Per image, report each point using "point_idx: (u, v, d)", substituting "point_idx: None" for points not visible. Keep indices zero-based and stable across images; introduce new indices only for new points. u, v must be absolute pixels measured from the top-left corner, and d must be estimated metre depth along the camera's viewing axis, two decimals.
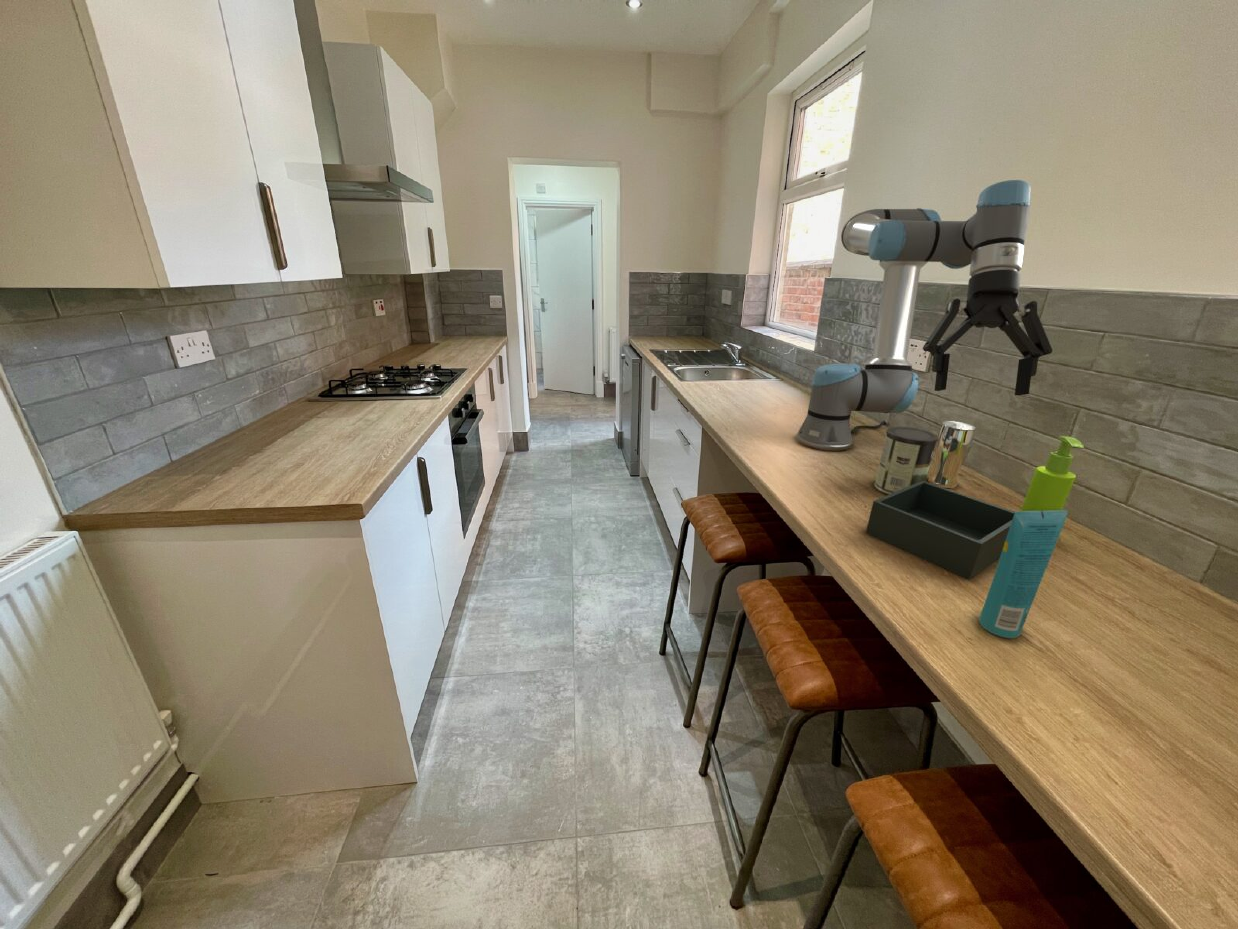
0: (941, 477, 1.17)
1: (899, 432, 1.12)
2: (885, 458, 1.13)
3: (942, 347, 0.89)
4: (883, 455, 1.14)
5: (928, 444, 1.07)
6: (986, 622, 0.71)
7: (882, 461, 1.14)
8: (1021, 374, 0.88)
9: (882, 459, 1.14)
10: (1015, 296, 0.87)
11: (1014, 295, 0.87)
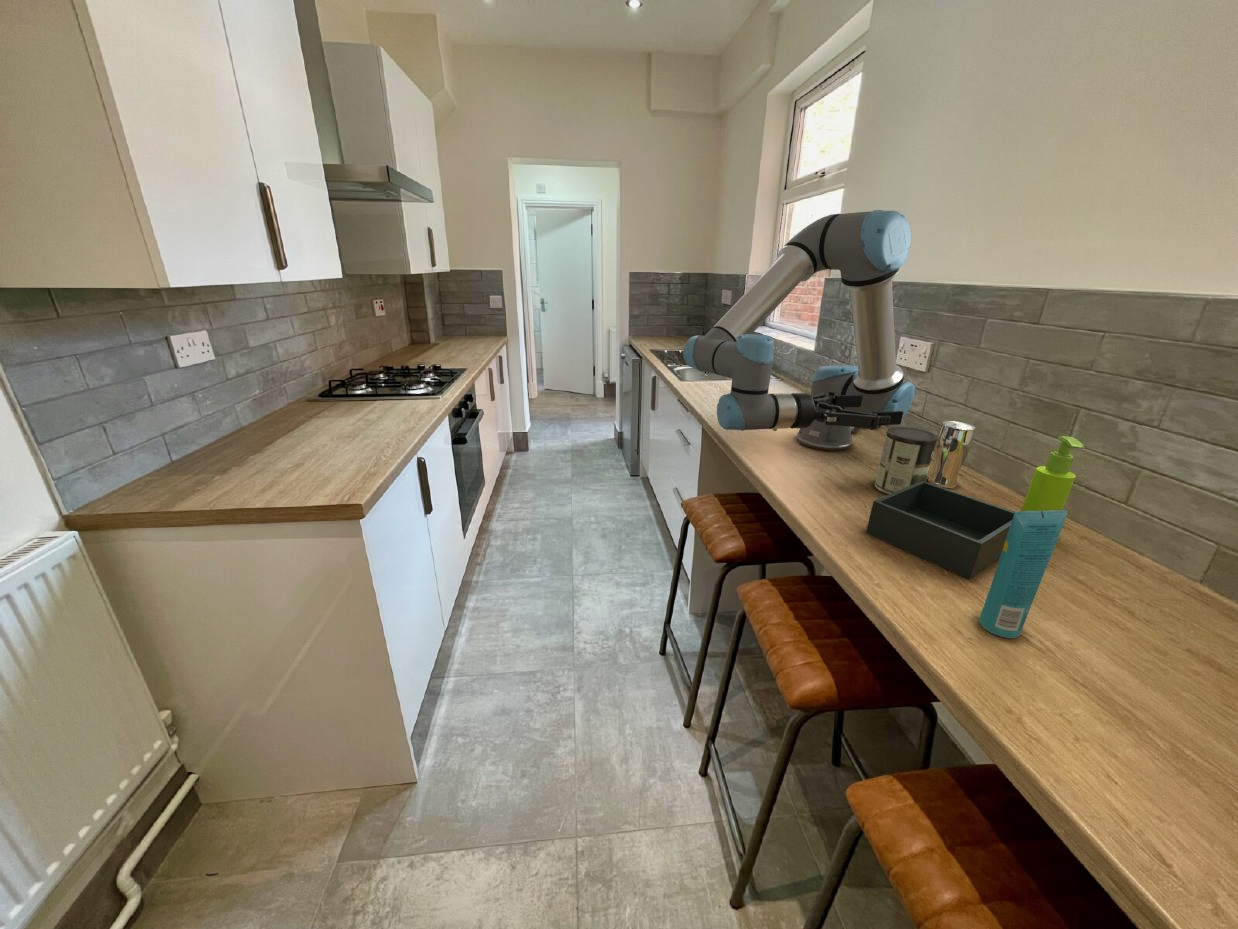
0: (941, 477, 1.17)
1: (899, 432, 1.12)
2: (885, 458, 1.13)
3: None
4: (883, 455, 1.14)
5: (928, 444, 1.07)
6: (986, 622, 0.71)
7: (882, 461, 1.14)
8: None
9: (882, 459, 1.14)
10: None
11: None
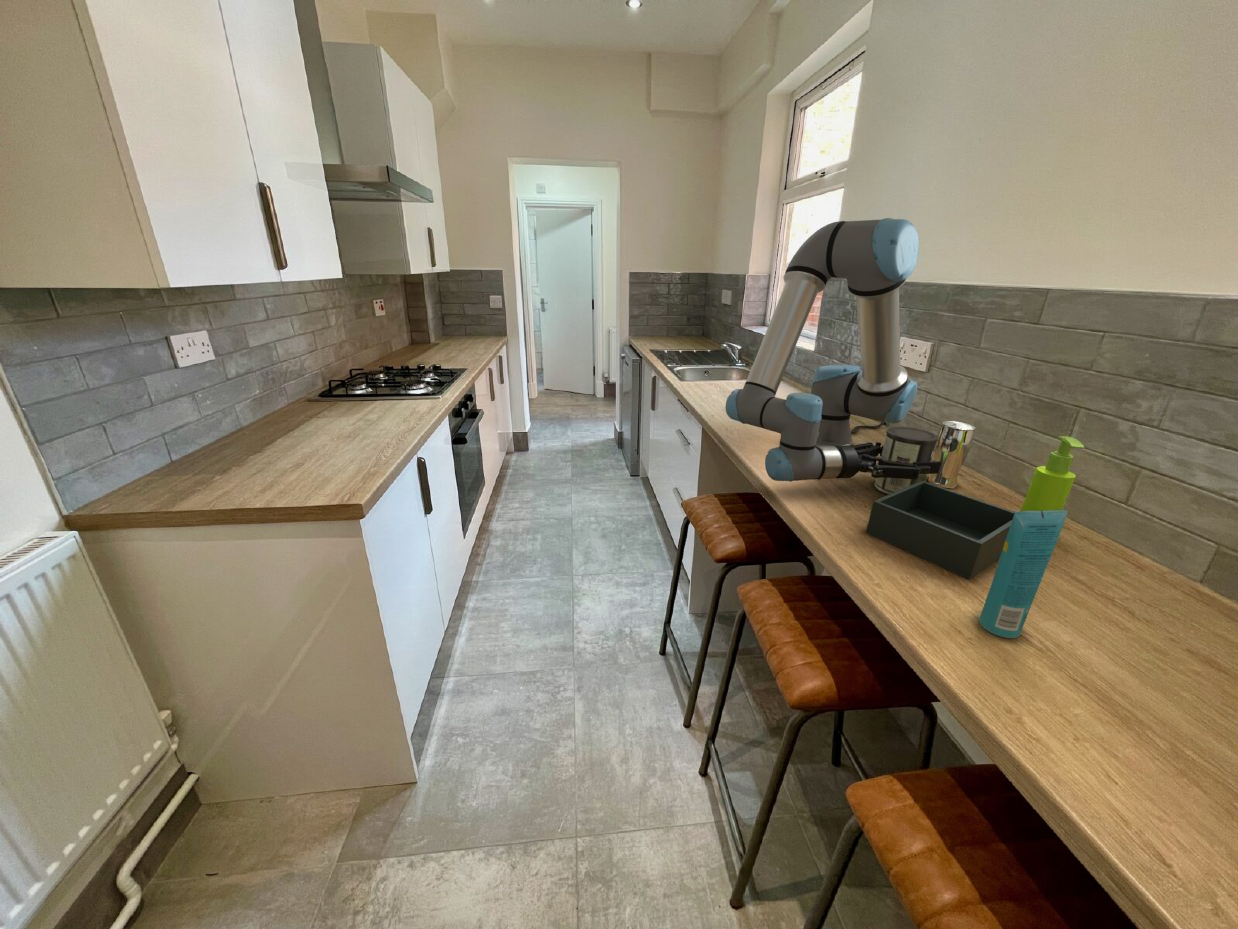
0: (941, 477, 1.17)
1: (899, 432, 1.12)
2: (885, 458, 1.13)
3: None
4: (883, 455, 1.14)
5: (928, 444, 1.07)
6: (986, 622, 0.71)
7: None
8: None
9: None
10: (858, 471, 1.09)
11: None
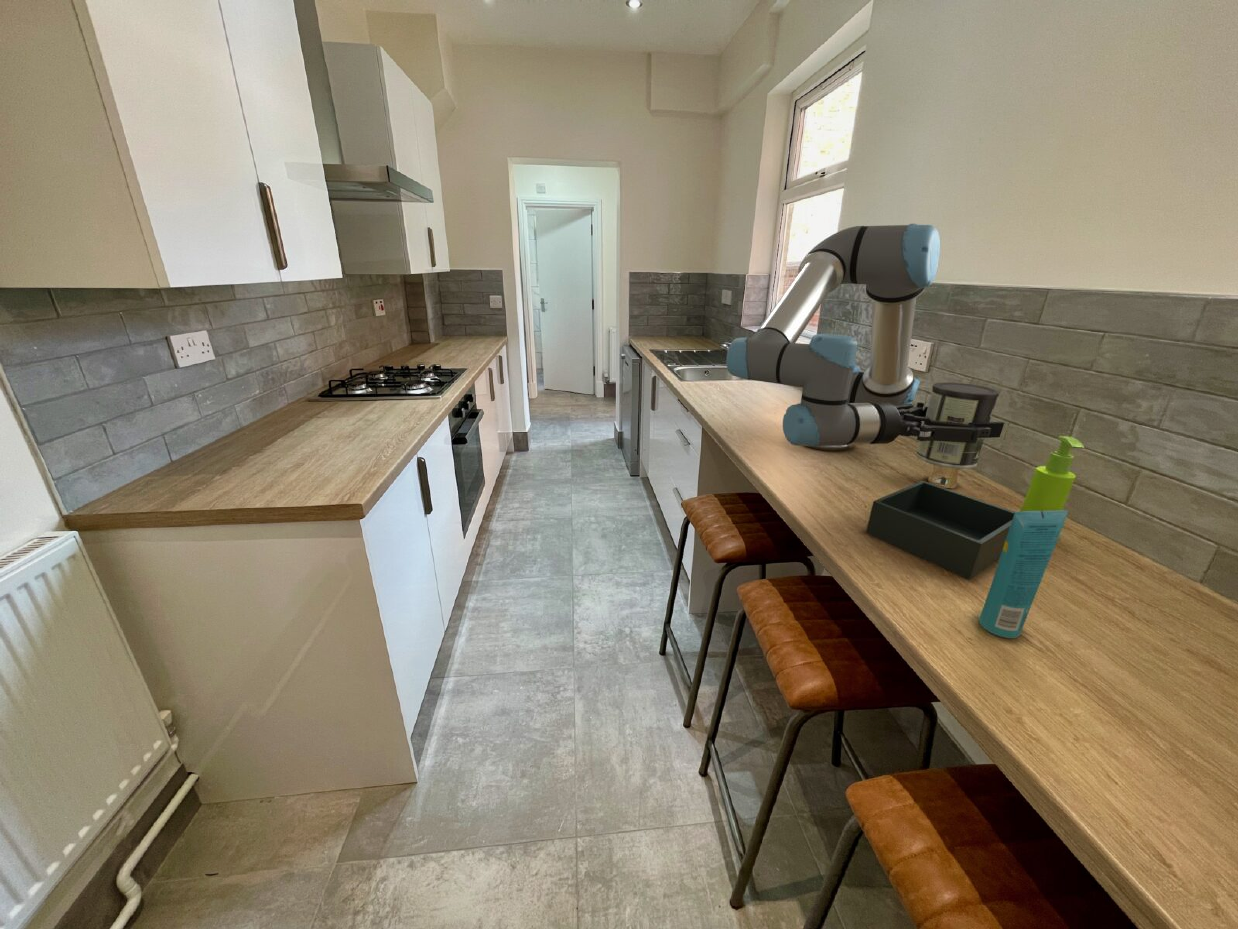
0: (941, 477, 1.17)
1: (949, 387, 0.90)
2: (931, 419, 0.91)
3: None
4: (928, 416, 0.92)
5: (988, 399, 0.85)
6: (986, 622, 0.71)
7: None
8: None
9: None
10: (899, 433, 0.87)
11: None
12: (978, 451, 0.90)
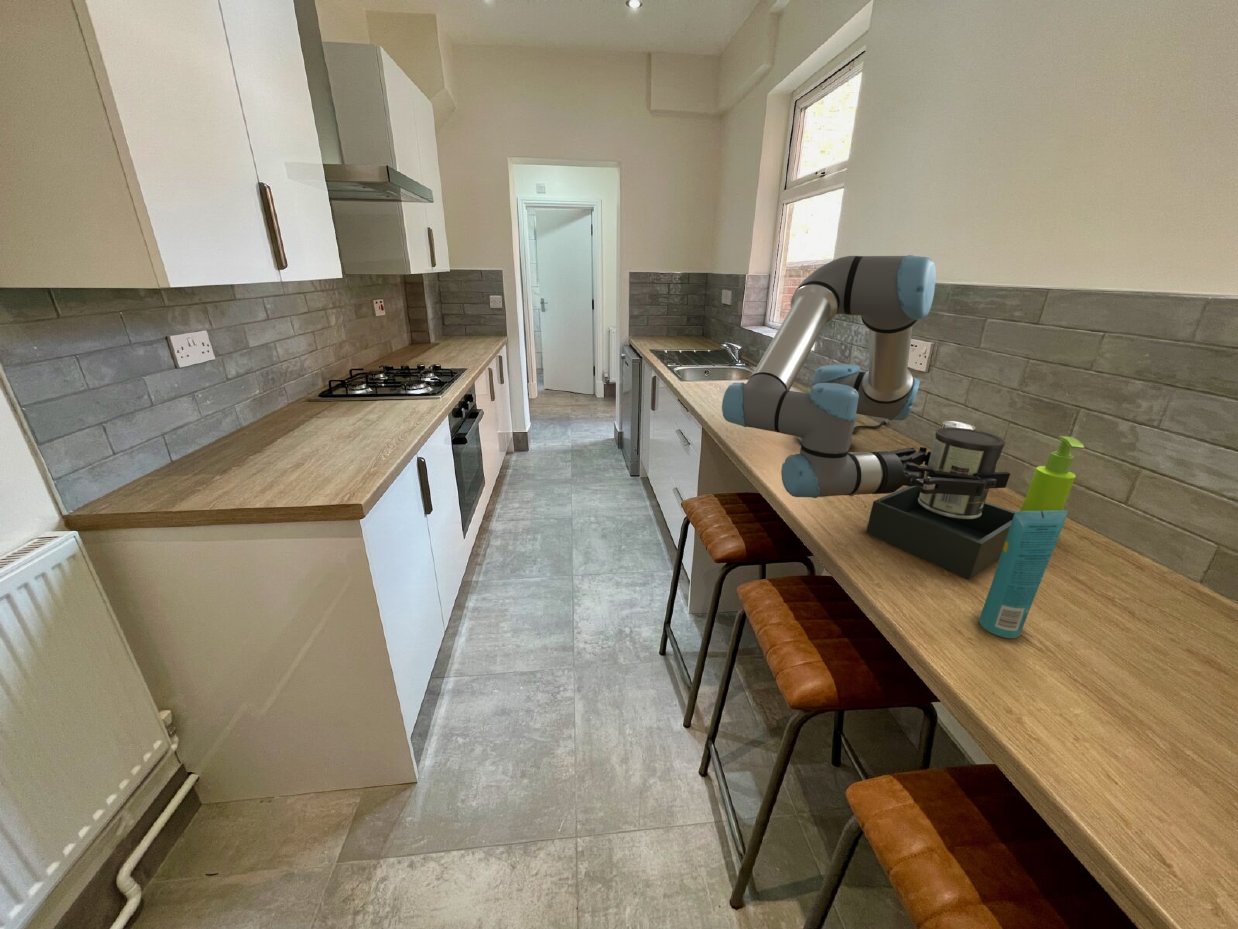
0: None
1: (953, 434, 0.87)
2: (934, 467, 0.88)
3: None
4: (931, 464, 0.89)
5: (994, 450, 0.82)
6: (986, 622, 0.71)
7: None
8: None
9: None
10: (902, 484, 0.84)
11: None
12: (983, 501, 0.87)
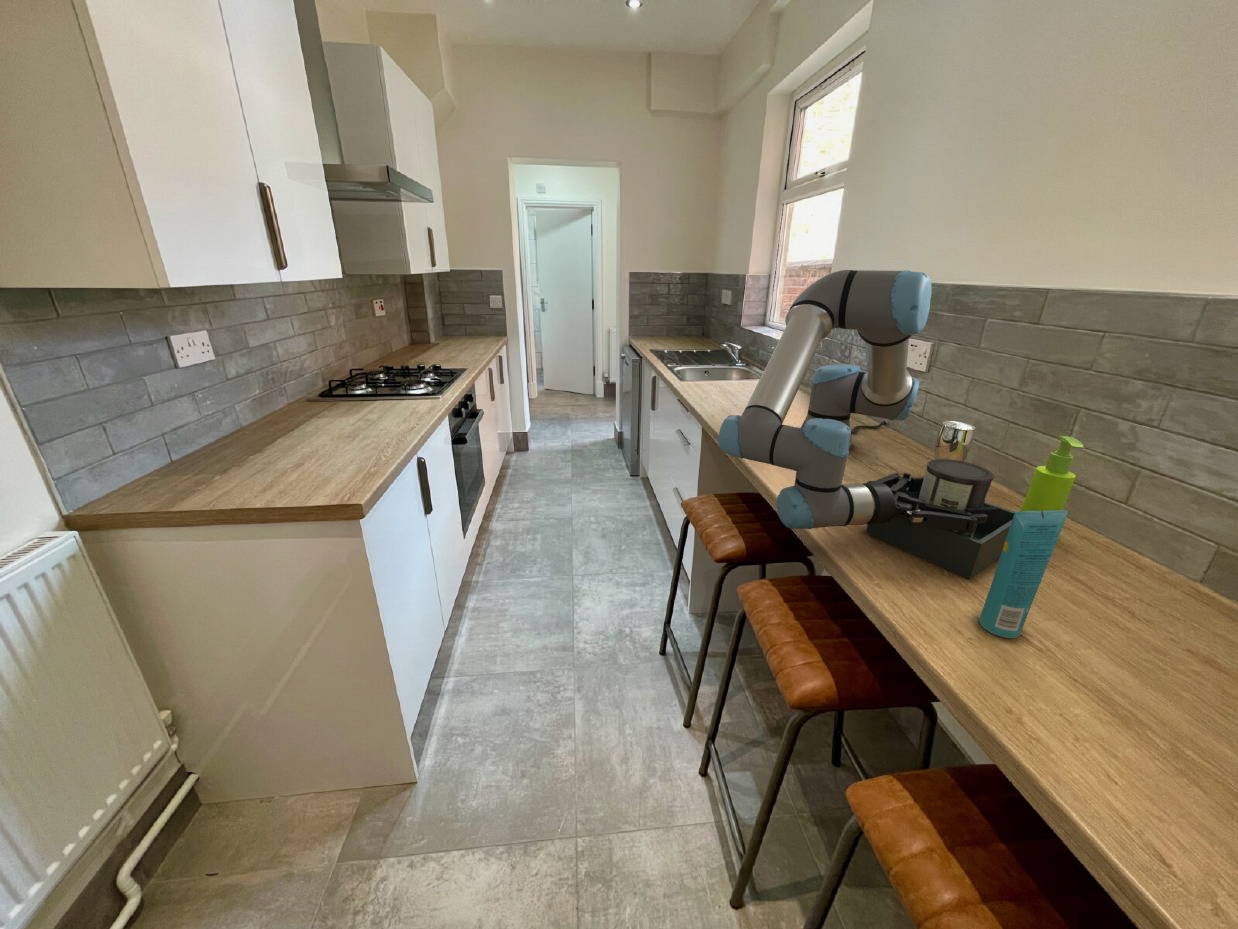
0: None
1: (943, 467, 0.90)
2: (925, 499, 0.91)
3: None
4: (922, 495, 0.92)
5: (982, 484, 0.85)
6: (986, 622, 0.71)
7: None
8: None
9: None
10: None
11: None
12: (972, 532, 0.89)
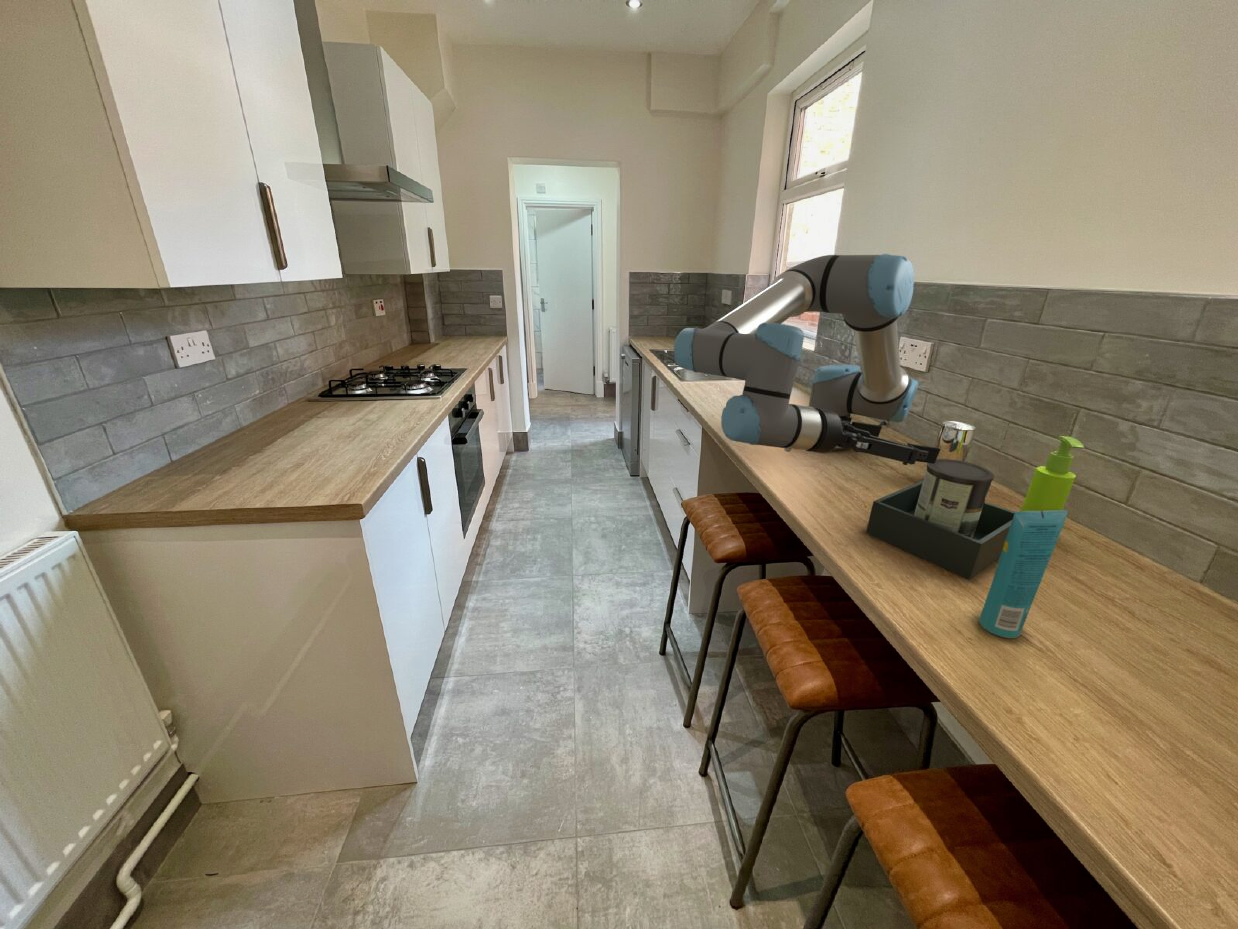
0: None
1: (943, 467, 0.90)
2: (925, 499, 0.91)
3: None
4: (922, 495, 0.92)
5: (982, 484, 0.85)
6: (986, 622, 0.71)
7: (921, 502, 0.92)
8: None
9: (921, 500, 0.92)
10: None
11: None
12: (972, 532, 0.89)
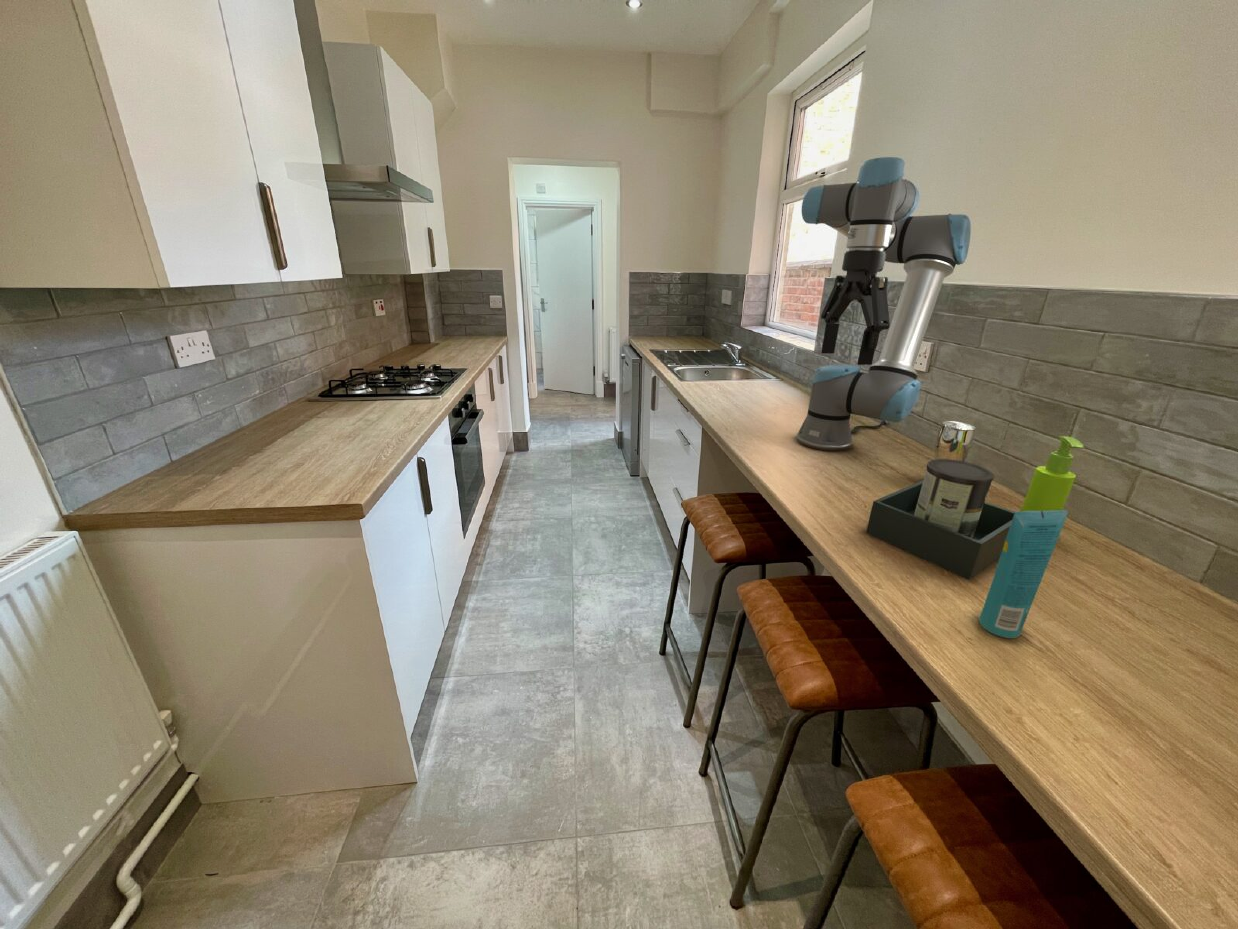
0: None
1: (943, 467, 0.90)
2: (925, 499, 0.91)
3: (826, 317, 1.08)
4: (922, 495, 0.92)
5: (982, 484, 0.85)
6: (986, 622, 0.71)
7: (921, 502, 0.92)
8: None
9: (921, 500, 0.92)
10: (867, 272, 0.95)
11: (867, 271, 0.95)
12: (973, 532, 0.89)
